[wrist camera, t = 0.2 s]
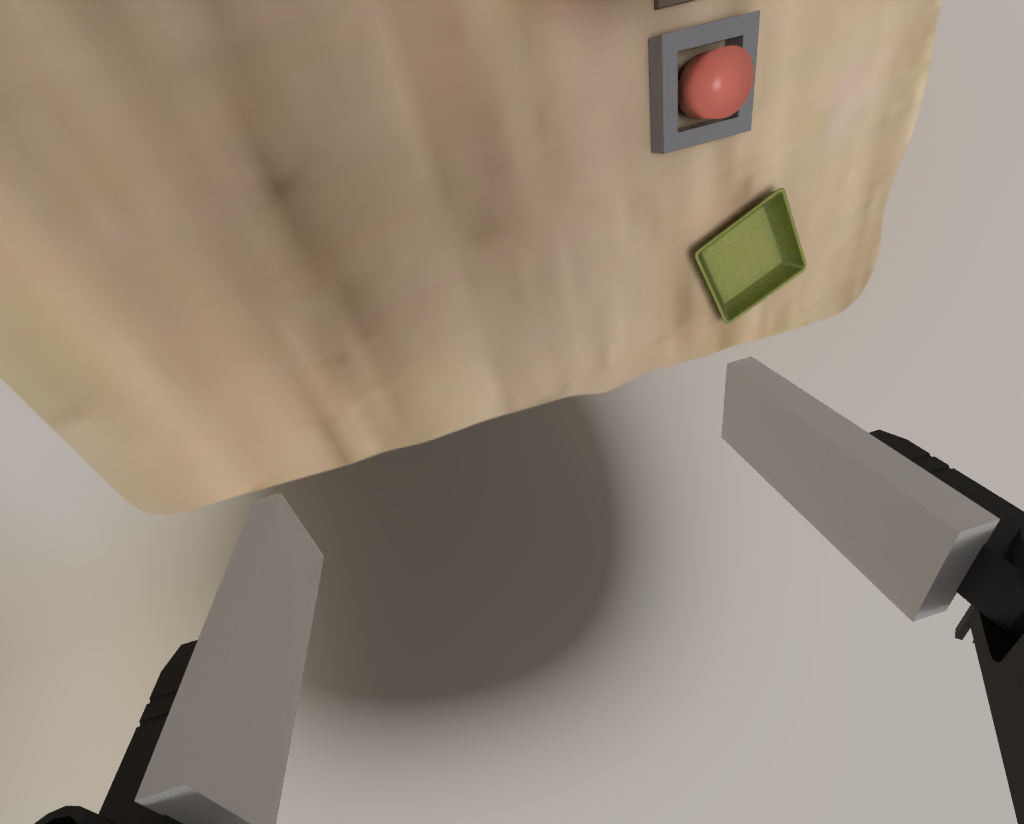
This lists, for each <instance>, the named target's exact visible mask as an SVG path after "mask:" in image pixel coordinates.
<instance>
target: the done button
mask: <svg viewBox="0 0 1024 824" xmlns="http://www.w3.org/2000/svg"><path fill="white" fill-rule="evenodd" d="M753 78H754V67H753V62H752V59H751V57H750V55H749V54H748V52H747V51H746V50H745V49H743V48H742V47H739V46H735V45H731V46H726V47H722V48H718V49H714V50H710V51H706V52H703V53H700V54H698V55H696V56H695V57H694V58H692V59H691V60H690V61H689V63H688V64H687V65H686V66H685V68H684V70H683V72H682V74H681V76H680V79H679V83H678V103H679V106H680V108H681V110H682V111H683V113H684V114H685V115H686V116H688V117H689V118H692V119H722V118H726V117H729V116H731V115H732V114H734V113H735V112H736V111H738V110H739V109H740V108H741V106H742V105H743V104H744V102H745V101H746V99H747V97H748V96H749V93H750V91H751V88H752V84H753Z"/></svg>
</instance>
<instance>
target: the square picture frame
mask: <svg viewBox="0 0 1024 824" xmlns="http://www.w3.org/2000/svg"><path fill="white" fill-rule="evenodd" d="M689 1H693V0H654V9H655V10H656V9H660V8H664V7H668V6H672V5H677V4H681V3H685V2H689Z"/></svg>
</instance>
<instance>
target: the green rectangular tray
mask: <svg viewBox="0 0 1024 824" xmlns="http://www.w3.org/2000/svg"><path fill="white" fill-rule="evenodd" d="M695 259H696V262H697V264H698V266H699V268H700V270H701V272H702V274H703V277H704V279H705V281H706V283H707V285H708V288H709V290H710V292H711V294H712V296H713V299H714V301H715V303H716V305H717V307H718V309H719V312H720V314H721V316H722V318H723V320H724V323H726V324H729V323H731V322H733V321H735V320H736V319H738V318H739V317H740V316H742V315H743V314H744V313H746V312H747V311H748V310H750V309H751V308H752V307H754V306H755V305H757V304H758V303H759V302H761V301H762V300H764V299H765V298H766V297H768V296H769V295H771V294H772V293H773V292H775V291H776V290H778V289H779V288H780V287H782V286H783V285H785V284H786V283H788V282H789V281H790V280H792V279H793V278H795V277H796V276H797V275H799V274H800V273H802V272H803V271H804V270H805V268H806V260H805V257H804V253H803V250H802V247H801V244H800V240H799V237H798V234H797V230H796V227H795V223H794V220H793V217H792V213H791V210H790V206H789V203H788V200H787V196H786V193H785V190H784V189H783V188H780V189H778V190H776V191H775V192H773V193H772V194H771V195H769V196H768V197H767V198H765V199H764V200H763V201H761V202H760V203H759V204H757V205H756V206H755V207H753V208H752V209H751V210H750V211H748V212H747V213H746V214H744V215H743V216H742V217H740V218H739V219H738V220H736V221H735V222H734V223H732V224H731V225H730V226H728V227H727V228H726V229H724V230H723V231H722V232H721V233H719V234H718V235H717V236H715V237H714V238H713V239H711V240H710V241H709V242H707V243H706V244H705V245H703V246H702V247H701V248H699V249H698V250H697V251H696V252H695Z"/></svg>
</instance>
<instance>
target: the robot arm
mask: <svg viewBox="0 0 1024 824" xmlns="http://www.w3.org/2000/svg"><path fill="white" fill-rule="evenodd" d="M722 438H723V439H724V440H725V441H726V442H727V443H728V444H729V445H730V446H731V447H732V448H733V449H734V450H735V451H736V452H737V453H738V454H739V455H741V457H743V458H744V459H745V460H746V461H747V462H748V463H749V464H750V465H751V466H752V467H753V468H754V469H755V470H756V471H757V472H758V473H759V474H760V475H761V476H762V477H763V478H764V479H765V480H766V481H767V482H768V483H769V484H770V485H771V486H773V487H774V488H775V489H776V490H777V491H778V492H779V493H780V494H781V495H782V496H783V497H784V498H785V499H786V500H787V501H788V502H789V503H790V504H791V505H792V506H793V507H794V508H795V509H796V510H797V511H799V513H801V515H803V516H804V517H805V518H806V519H807V520H808V521H809V522H810V523H811V524H812V525H813V526H814V527H815V528H816V529H817V530H818V531H819V532H820V533H821V534H822V535H823V536H824V537H825V538H826V539H827V540H828V541H829V542H831V544H833V545H834V546H835V547H836V548H837V549H838V550H839V551H840V552H841V553H842V554H843V555H844V556H845V557H846V558H847V559H848V560H849V561H850V562H851V563H852V564H853V565H854V566H856V568H857V569H858V570H859V571H860V572H861V573H863V574H864V575H865V576H866V577H867V578H868V579H869V580H870V581H871V582H872V583H873V584H874V585H875V586H876V587H877V588H878V589H879V590H880V591H881V592H882V593H883V594H884V595H885V596H886V597H887V598H888V599H889V600H891V601H892V602H893V603H894V604H895V605H896V606H897V607H898V608H899V609H900V610H901V611H902V612H903V613H904V614H905V615H906V616H907V617H908V618H909V619H910V620H911V621H912V622H913V621H916V620H919V619H922V618H925V617H928V616H931V615H934V614H937V613H940V612H943V611H945V610H947V608H948V607H949V605H950V603H951V601H952V600H953V598H954V596H955V595H956V593H959V594H960V595H961V596H962V597H963V598H965V599H966V600H967V601H968V602H969V603H970V604H971V605H970V607H969V609H968V610H967V612H966V613H965V615H964V616H963V618H962V620H961V621H960V623H959V624H958V626H957V627H956V632H955V638H957V639H961V640H962V639H963V638H964V637H965V635H966V634H967V632H968V631H969V629H970V628H971V631H972V635H973V639H974V640H973V643H975V647H976V651H977V655H978V660H979V664H980V668H981V672H982V676H983V680H984V684H985V689H986V693H987V697H988V701H989V705H990V710H991V714H992V718H993V722H994V726H995V730H996V734H997V738H998V743H999V747H1000V751H1001V755H1002V759H1003V764H1004V768H1005V771H1006V776H1007V780H1008V784H1009V788H1010V793H1011V797H1012V801H1013V805H1014V809H1015V813H1016V818H1017V822H1018V824H1024V512H1023V511H1022V510H1020V509H1018V508H1017V507H1015V506H1014V505H1012V504H1010V503H1009V502H1007V501H1006V500H1004V499H1003V498H1001V497H999V496H998V495H996V494H994V493H993V492H991V491H989V490H988V489H986V488H985V487H983V486H981V485H980V484H978V483H977V482H975V481H973V480H972V479H970V478H968V477H967V476H965V475H963V474H962V473H960V472H959V471H957V470H955V469H954V468H953V469H950V468H949V465H947V464H946V463H944V462H943V461H941V460H939V459H938V458H936V457H931V456H930V454H929V453H928V452H926V451H925V450H923V449H921V448H920V447H918V446H917V445H915V444H913V443H912V442H910V441H909V440H907V439H904V438H901V437H898V436H896V435H893V434H890V433H887V432H884V431H882V430H877V431H874V432H870V433H868V432H866V431H864V430H863V429H861V428H860V427H858V426H857V425H855V424H854V423H852V422H851V421H849V420H848V419H846V418H845V417H843V416H842V415H840V414H839V413H837V412H835V411H834V410H832V409H831V408H829V407H828V406H826V405H825V404H823V403H822V402H820V401H819V400H817V399H816V398H814V397H812V396H811V395H809V394H808V393H806V392H805V391H803V390H802V389H800V388H799V387H797V386H796V385H794V384H793V383H791V382H789V381H788V380H787V379H785V378H783V377H782V376H780V375H779V374H777V373H776V372H774V371H773V370H771V369H770V368H768V367H767V366H765V365H763V364H762V363H761V362H759V361H757V360H756V359H754V358H753V357H748V358H745V359H742V360H738V361H734V362H731V363H728V364H727V372H726V386H725V398H724V412H723V425H722ZM323 558H324V556H323V555H322V553H321V552H320V550H319V549H318V547H317V546H316V544H315V543H314V541H313V540H312V538H311V537H310V535H309V534H308V532H307V531H306V529H305V528H304V527H303V525H302V524H301V522H300V521H299V519H298V518H297V516H296V515H295V513H294V512H293V510H292V509H291V507H290V506H289V505H288V503H287V501H286V500H285V499H284V497H283V496H282V494H281V493H279V494H276V495H272V496H269V497H265V498H262V499H258V500H255V501H253V502H252V505H251V507H250V510H249V512H248V515H247V517H246V520H245V522H244V525H243V528H242V530H241V532H240V535H239V538H238V540H237V543H236V545H235V548H234V550H233V553H232V555H231V558H230V560H229V563H228V565H227V568H226V571H225V573H224V575H223V578H222V581H221V583H220V586H219V588H218V591H217V593H216V596H215V599H214V601H213V603H212V606H211V609H210V611H209V614H208V616H207V619H206V621H205V623H204V626H203V629H202V631H201V634H200V636H199V639H198V640H196V641H192V642H190V643H186V644H183V645H181V646H180V647H179V649H178V650H177V651H176V653H175V654H174V655H173V657H172V658H171V659H170V661H169V662H168V663H167V665H166V666H165V667H164V669H163V670H162V671H161V673H160V676H159V678H158V680H157V683H156V685H155V687H154V689H153V692H152V694H151V696H150V703H149V704H147V705H146V708H145V710H144V712H143V714H142V717H141V719H140V721H139V722H140V726H139V727H137V728H136V730H135V733H134V735H133V737H132V739H131V742H130V744H129V746H128V748H127V751H126V753H125V755H124V758H123V760H122V762H121V765H120V767H119V769H118V771H117V774H116V776H115V778H114V780H113V783H112V785H111V787H110V790H109V792H108V794H107V796H106V799H105V801H104V803H103V805H102V808H101V810H100V812H99V814H96V813H94V812H92V811H90V810H87V809H85V808H83V807H81V806H65V807H62V808H60V809H58V810H55V811H53V812H51V813H48V814H47V815H45V816H44V817H43V818H42V819H40V820H39V821H37V822H36V823H35V824H276V821H277V814H278V810H279V804H280V798H281V793H282V787H283V782H284V776H285V771H286V765H287V759H288V754H289V748H290V743H291V737H292V731H293V726H294V720H295V715H296V709H297V704H298V698H299V692H300V687H301V681H302V675H303V670H304V664H305V659H306V653H307V648H308V641H309V636H310V631H311V625H312V620H313V614H314V609H315V603H316V598H317V592H318V586H319V580H320V575H321V569H322V564H323Z"/></svg>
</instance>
